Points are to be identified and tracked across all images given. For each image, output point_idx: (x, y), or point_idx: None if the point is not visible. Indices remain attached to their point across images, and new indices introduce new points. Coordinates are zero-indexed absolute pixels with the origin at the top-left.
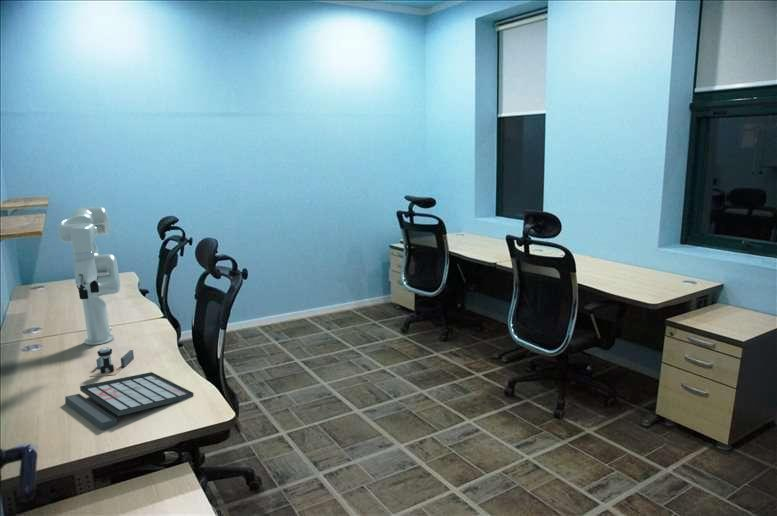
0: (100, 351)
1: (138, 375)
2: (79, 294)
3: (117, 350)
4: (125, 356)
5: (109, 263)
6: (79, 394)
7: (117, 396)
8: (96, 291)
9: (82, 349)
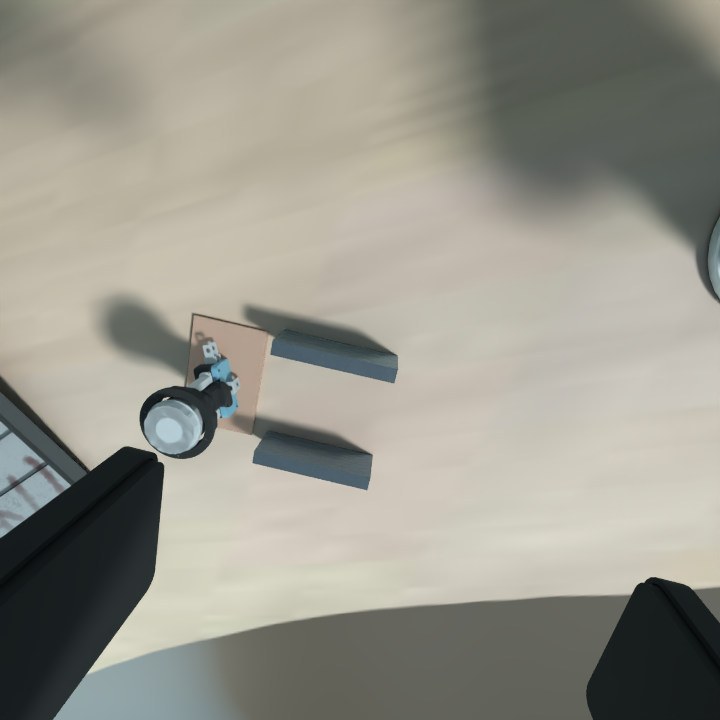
0: (155, 408)
1: None
2: (46, 508)
3: (535, 376)
4: (278, 468)
5: None
6: None
7: None
8: (606, 690)
9: (662, 173)
